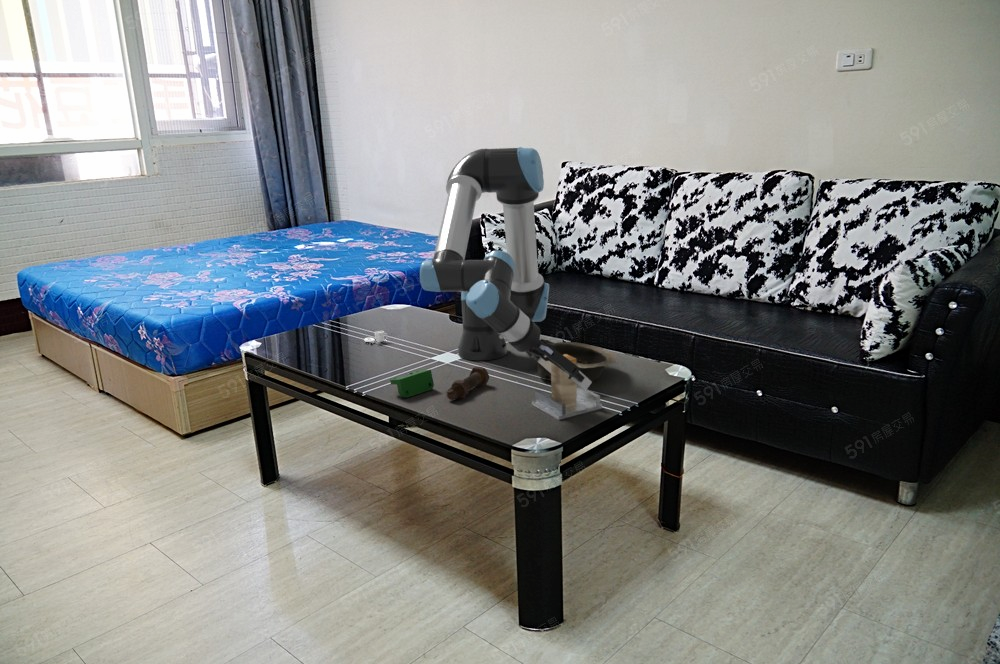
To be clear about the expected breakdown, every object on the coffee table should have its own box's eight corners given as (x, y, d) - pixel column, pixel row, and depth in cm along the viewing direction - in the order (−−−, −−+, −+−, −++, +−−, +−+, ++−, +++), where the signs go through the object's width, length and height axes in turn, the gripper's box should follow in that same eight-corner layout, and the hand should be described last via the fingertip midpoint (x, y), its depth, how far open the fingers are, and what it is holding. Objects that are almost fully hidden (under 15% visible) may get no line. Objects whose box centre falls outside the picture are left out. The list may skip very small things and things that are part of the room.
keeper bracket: (532, 404, 190) (531, 391, 189) (574, 394, 196) (574, 381, 195) (558, 419, 180) (558, 406, 179) (602, 408, 186) (602, 395, 185)
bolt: (449, 408, 195) (479, 387, 207) (462, 402, 192) (492, 381, 204) (438, 388, 195) (469, 369, 207) (451, 381, 192) (482, 362, 204)
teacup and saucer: (360, 345, 247) (359, 333, 246) (376, 338, 254) (376, 327, 253) (381, 348, 243) (380, 336, 242) (397, 342, 249) (396, 330, 248)
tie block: (551, 402, 189) (550, 357, 185) (566, 398, 191) (565, 354, 187) (561, 408, 185) (561, 362, 181) (576, 404, 187) (576, 358, 184)
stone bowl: (510, 379, 209) (510, 347, 207) (563, 362, 227) (564, 333, 225) (583, 396, 193) (584, 362, 191) (633, 377, 211) (635, 345, 209)
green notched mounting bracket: (419, 401, 207) (423, 371, 208) (431, 401, 202) (435, 370, 204) (386, 396, 199) (390, 364, 201) (397, 396, 195) (401, 364, 197)
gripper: (483, 331, 186) (536, 376, 197) (538, 356, 165) (593, 405, 176) (501, 307, 187) (552, 353, 198) (557, 329, 166) (611, 380, 177)
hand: (571, 378), depth 187 cm, fingers open, 13 cm apart
